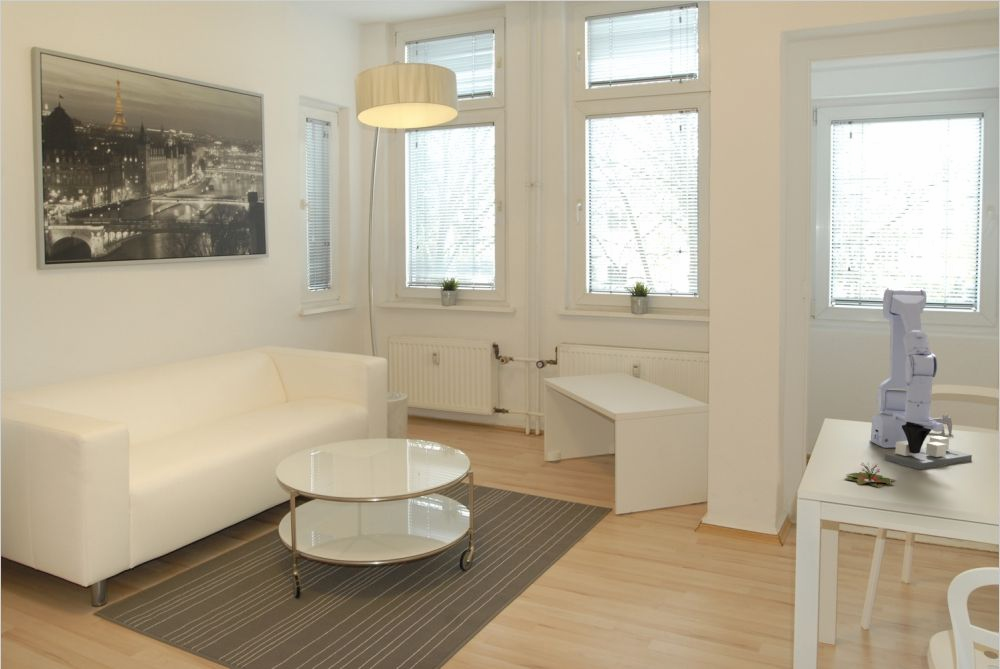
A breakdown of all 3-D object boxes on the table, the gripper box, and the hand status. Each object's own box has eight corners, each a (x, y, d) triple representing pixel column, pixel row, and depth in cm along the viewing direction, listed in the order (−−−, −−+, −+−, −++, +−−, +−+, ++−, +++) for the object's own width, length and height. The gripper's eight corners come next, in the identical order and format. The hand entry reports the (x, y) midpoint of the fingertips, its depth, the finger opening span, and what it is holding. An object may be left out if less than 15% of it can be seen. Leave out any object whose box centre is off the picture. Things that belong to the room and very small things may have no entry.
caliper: (950, 434, 249) (952, 413, 248) (951, 435, 248) (953, 414, 247) (876, 428, 255) (877, 408, 254) (876, 429, 254) (878, 409, 253)
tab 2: (936, 457, 215) (937, 445, 215) (925, 454, 218) (926, 443, 217) (945, 455, 217) (946, 444, 216) (935, 452, 219) (936, 441, 219)
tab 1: (939, 450, 221) (940, 439, 221) (929, 447, 224) (929, 437, 224) (948, 449, 223) (949, 438, 223) (938, 446, 226) (939, 435, 225)
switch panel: (918, 469, 210) (919, 463, 210) (885, 459, 219) (885, 453, 219) (971, 460, 219) (971, 454, 219) (937, 451, 228) (937, 445, 228)
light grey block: (905, 455, 216) (906, 444, 216) (895, 453, 219) (896, 441, 218) (914, 454, 217) (915, 443, 217) (904, 451, 220) (905, 440, 220)
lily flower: (905, 483, 200) (906, 464, 200) (883, 493, 193) (884, 474, 192) (856, 472, 209) (857, 454, 209) (833, 481, 201) (834, 463, 201)
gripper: (953, 405, 208) (949, 458, 210) (909, 394, 222) (905, 444, 223) (931, 407, 206) (927, 461, 208) (887, 396, 220) (884, 446, 221)
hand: (914, 452), depth 215 cm, fingers closed
